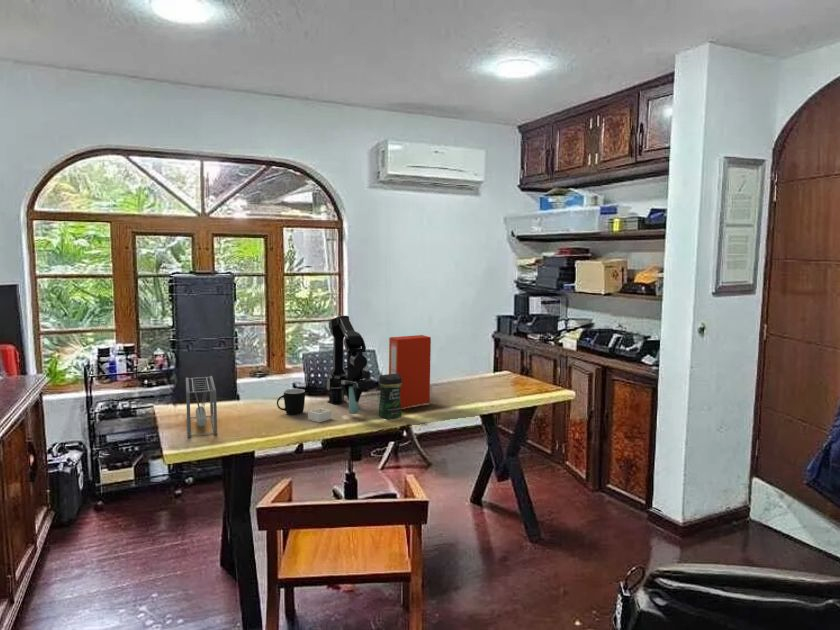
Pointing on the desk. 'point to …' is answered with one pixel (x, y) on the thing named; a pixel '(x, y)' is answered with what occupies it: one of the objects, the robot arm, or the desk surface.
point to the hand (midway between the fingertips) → (353, 401)
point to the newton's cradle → (201, 410)
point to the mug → (293, 401)
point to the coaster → (353, 417)
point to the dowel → (352, 401)
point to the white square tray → (319, 415)
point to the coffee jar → (390, 396)
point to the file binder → (411, 367)
